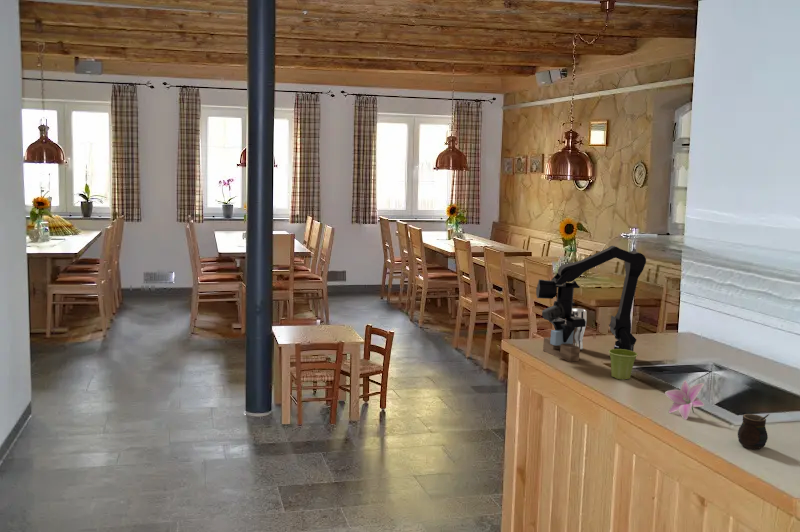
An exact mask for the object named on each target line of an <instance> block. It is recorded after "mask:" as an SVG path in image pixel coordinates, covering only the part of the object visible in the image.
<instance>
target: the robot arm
mask: <svg viewBox="0 0 800 532" xmlns="http://www.w3.org/2000/svg"><path fill="white" fill-rule="evenodd" d="M614 259H618V260H620V261H624V269H625V278H624V281H623V287H622V292H621V297H620V300H619V304H618V305H619V306H618V311H617V312H616V314H615V315H611V316H610V323H609V325H608V327H609V329H610V332H611V334H612V335H613V336H614V339H615V341H614V342H615V344H614V347H613V349H625V350H630V351H633V352H634V348H635V344H636V342H637V338H636V337H635V336H634V335H633V334H632V332H631V331H632V322H631V321H632V320H631V313H632V308H633V303H634V299H635V294H636V290H637V285H638V279H639V277H640V276H641V274H642V272H643V271H644V269H645V266H646V264H647V258H646V256H645V255H644V254H643V253H641V252H639V251H637V250H630V251H627V250H624V249H621V248H619V247H618V246H616V245H610V246H609V247H607V248H605V249H603V250H601V251H598V252H596V253H594V254H592V255H590V256H588V257H585V258H583V259H581V260H577V261H573V262H572V261H571V262H568V263H563V264H561V265H560V266H559V267H558V268H557V273H556V274H555V275H554V276H553V277H552V279H551V280H547V279H545V280H544V279H538V282H537V285H536V290H535V293H536V295H535V296H536V298H537V299H549V300H551V299H552V300H553V299H554V298H555V297H556V300H554V302H553V304H552V306H549V307H547V308H544V309H542V311H541V313H542V314H541V317H542V318H543V319H544V320H547V321H549V323H551V324H552V325H553V327H554V328H553V329H554V330H563V342H567V340H568V338H569V336H570V335H571V333H572V332H573V330H574V329H575V327H585V326H587V320H586V321H585V319H583V318H580V317H574V314H573V313H572V308H573V307H574V306H576V303H575V302H574V291H575V290H574V289H579V288H580V287H581V286H580V285H579V284H578V282H577V281H575V280H576V279H578V278H579V277H580V276H581V275H583V274H584V273H585V272H587V271H589V270H591V269H593V268H595V267H598V266H600V265H602V264H604V263H607V262H609V261H611V260H614ZM585 328H586V327H585Z"/></svg>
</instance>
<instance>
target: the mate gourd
mask: <svg viewBox="0 0 800 532" xmlns="http://www.w3.org/2000/svg"><path fill="white" fill-rule="evenodd" d="M768 416H770V414H769V413H768V414H766V415H765V416H761V415H758V414H754V413H745V414H743V416H742V423H741V424H740V426H739V428H738V430H737V438H738V442H739V443H740V445H741V446H742V447H744V448H746V449H749V450H760V449H762V448H764V447H765V446H766V443H767V441H768V438H769V437H768V431H767V429H766V424H767V418H768Z"/></svg>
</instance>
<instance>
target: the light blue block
mask: <svg viewBox="0 0 800 532" xmlns="http://www.w3.org/2000/svg"><path fill="white" fill-rule="evenodd" d="M573 334H574V331H573V332H572V333H571V335H570V336H569V338H568V340H567V342H563V330H555V329H551V330H550V337H551V338H550V344H552V345H555V346H557V345H561V344H569V343H570V344H573Z"/></svg>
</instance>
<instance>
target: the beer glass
mask: <svg viewBox="0 0 800 532" xmlns="http://www.w3.org/2000/svg"><path fill="white" fill-rule="evenodd" d="M572 313H573V314H574V317H580V318H583V319H585V321H586V322H587V316H588V315H587V310H586V309H584V308H578V307H577V308H575V307H572ZM586 326H587V325H586ZM586 326H585V327H575V329H574V330H573V331H574V334H573V344H572V345H575V346H578V347H580V351H581V350H584V345H583V341H584V335H585V330H586Z"/></svg>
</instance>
